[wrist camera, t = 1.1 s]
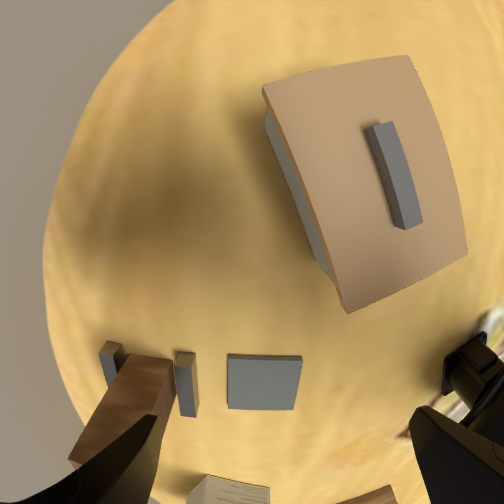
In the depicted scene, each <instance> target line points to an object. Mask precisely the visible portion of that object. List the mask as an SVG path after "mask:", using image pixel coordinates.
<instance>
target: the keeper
mask: <svg viewBox="0 0 504 504" xmlns="http://www.w3.org/2000/svg"><path fill="white" fill-rule="evenodd" d="M99 357H100V361H101V364H102V368H103V372H104V375H105V379H106V382H107V385H108V388H109V387H110V385H111V383H112V382H113V380H114V379H115V377H116V375H117V374H118V372H119V371H120V369H121V367H122V366H123V364H124V363H125V359H124V355H123V350H122V345H121V344H120V343H114V342H109V341H108V342H107V343H106V344H105V346H104V347H103V348H102V349H101V351H100V352H99ZM174 371H175V379H176V387H177V394H178V401H179V408H180V414H181V416H186V417H194V418H196V416H197V411H198V407H199V394H198V382H197V367H196V354H195V353H185V352H179V354H178V356H177V359H176V362H175V364H174Z"/></svg>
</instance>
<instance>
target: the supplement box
mask: <svg viewBox="0 0 504 504" xmlns="http://www.w3.org/2000/svg"><path fill="white" fill-rule="evenodd" d="M186 504H270V488H266V487H260V486H255V485H250V484H245V483H240V482H236V481H231V480H227V479H223V478H219V477H215V476H212V475H206V476H205V477H204V478H203V479H202V480H201V481H200V482H199V483H198V484H197V485H196V486H195V487H194V488H193V489H192V490H191V491H190V492H189V493H188V496H187V501H186Z"/></svg>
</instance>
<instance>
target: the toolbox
mask: <svg viewBox="0 0 504 504" xmlns="http://www.w3.org/2000/svg"><path fill="white" fill-rule="evenodd" d="M262 95H263V97H264V99H265V101H266V104H267V106H268V111H267V115H266V119H265V124H264V128H265V131H266V133H267V135H268V138H269V140H270V142H271V145H272V147H273V150H274V152H275V154H276V157H277V159H278V162H279V164H280V167H281V169H282V172H283V174H284V177H285V179H286V182H287V184H288V187H289V189H290V192H291V194H292V197H293V200H294V202H295V205H296V207H297V210H298V213H299V215H300V218H301V221H302V224H303V226H304V229H305V232H306V235H307V237H308V240H309V243H310V246H311V249H312V251H313V254H314V257H315V260H316V261H317V262H318V264H319V265H320V266H321V267H322V269H323V270H324V271H325V272H326V274H327V275H328V276H329V278H330V279H331V280H332V281H333V283H334V284H335V286H336V289H337V292H338V296H339V299H340V302H341V306H342V307H343V309H344V310H345V311H346V313H347V314H350V313H352V312H354V311H357V310H359V309H361V308H363V307H366V306H368V305H370V304H372V303H374V302H377V301H379V300H381V299H383V298H385V297H387V296H389V295H392V294H394V293H396V292H398V291H400V290H402V289H404V288H406V287H408V286H410V285H412V284H414V283H416V282H418V281H420V280H422V279H423V278H425V277H427V276H429V275H431V274H433V273H435V272H437V271H438V270H440V269H442V268H444V267H446V266H448V265H449V264H451V263H453V262H455V261H456V260H458V259H460V258H462V257H463V256H465V255H467V244H466V236H465V229H464V222H463V216H462V211H461V205H460V200H459V195H458V191H457V186H456V182H455V178H454V174H453V170H452V166H451V162H450V159H449V155H448V152H447V148H446V145H445V142H444V139H443V136H442V133H441V130H440V127H439V124H438V121H437V119H436V116H435V113H434V111H433V108H432V105H431V103H430V101H429V98H428V96H427V93H426V91H425V89H424V87H423V84H422V82H421V80H420V78H419V76H418V74H417V71H416V69H415V67H414V65H413V63H412V61H411V59H410V58H409V56H408V55H402V56H393V57H385V58H377V59H371V60H364V61H359V62H353V63H348V64H343V65H338V66H333V67H329V68H324V69H320V70H316V71H312V72H308V73H304V74H300V75H297V76H293V77H290V78H286V79H283V80H279V81H276V82H273V83H270V84H267V85H264V86H262Z"/></svg>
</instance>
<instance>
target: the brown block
mask: <svg viewBox="0 0 504 504" xmlns="http://www.w3.org/2000/svg"><path fill="white" fill-rule="evenodd" d="M176 394H177V392H176V385H175V378H174V370H173V361H172V360H167V359H159V358H152V357H146V356H139V355H133V354H130V355H129V357H128V358H127V360H126V361H125V363H124V364H123V366H122V367H121V369H120V371H119V372H118V374H117V375H116V377H115V379H114V380H113V382H112V383H111V385H110V387H109V388H108V390H107V392H106V393H105V395H104V397H103V398H102V400H101V401H100V403H99V405H98V406H97V408H96V410H95V411H94V413H93V415H92V417H91V418H90V420H89V422H88V423H87V425H86V427H85V429H84V430H83V432H82V434H81V436H80V437H79V439H78V441H77V443H76V444H75V446H74V448H73V450H72V452H71V453H70V455H69V458H68V460H69V462H70V463H71V464H72V465H73V467H74V468H75V470H76V469H78V468H79V467H80V466H82V465H83V464H84V463H86V462H87V461H88V460H90V459H91V458H92V457H93V456H95V455H96V454H97V453H99V452H100V451H101V450H102V449H104V448H105V447H106V446H107V445H109V444H110V443H111V442H112V441H114V440H115V439H116V438H117V437H119V436H120V435H121V434H122V433H124V432H125V431H126V430H127V429H128V428H130V427H131V426H132V425H133V424H134V423H136V422H137V421H138V420H139V419H140V418H142V417H143V416H144V415H145V414H154V415H158V416H159V418H160V421H161V425H162V429H163V435H164V431H165V428H166V425H167V422H168V419H169V415H170V412H171V409H172V406H173V403H174V400H175V397H176ZM162 438H163V437H162Z"/></svg>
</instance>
